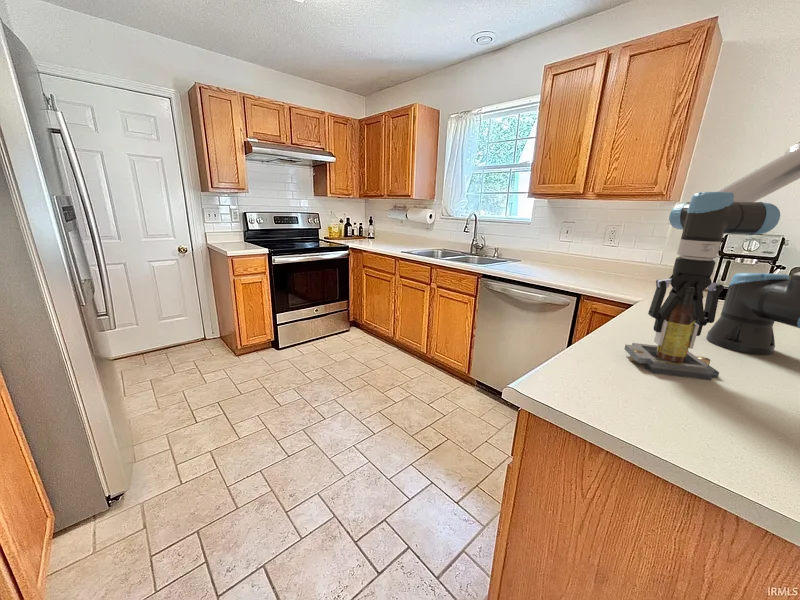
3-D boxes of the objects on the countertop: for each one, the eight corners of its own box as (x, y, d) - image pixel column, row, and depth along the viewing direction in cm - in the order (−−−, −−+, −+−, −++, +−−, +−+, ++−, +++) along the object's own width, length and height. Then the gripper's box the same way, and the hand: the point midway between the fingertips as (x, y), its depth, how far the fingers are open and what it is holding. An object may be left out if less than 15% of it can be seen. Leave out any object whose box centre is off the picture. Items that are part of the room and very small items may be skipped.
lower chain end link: (692, 359, 94) (695, 349, 93) (722, 381, 82) (726, 370, 81) (630, 352, 98) (632, 342, 97) (650, 372, 85) (653, 362, 85)
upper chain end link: (681, 358, 95) (684, 348, 94) (710, 380, 82) (714, 369, 82) (620, 351, 98) (622, 341, 97) (639, 371, 86) (642, 360, 85)
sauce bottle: (690, 365, 86) (711, 290, 81) (662, 362, 87) (682, 288, 82) (675, 354, 92) (694, 284, 87) (650, 352, 93) (667, 282, 88)
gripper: (658, 257, 81) (637, 346, 87) (754, 262, 77) (725, 355, 83) (644, 253, 88) (626, 335, 94) (731, 258, 84) (706, 344, 90)
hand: (672, 344), depth 88 cm, fingers closed on sauce bottle, 6 cm apart
